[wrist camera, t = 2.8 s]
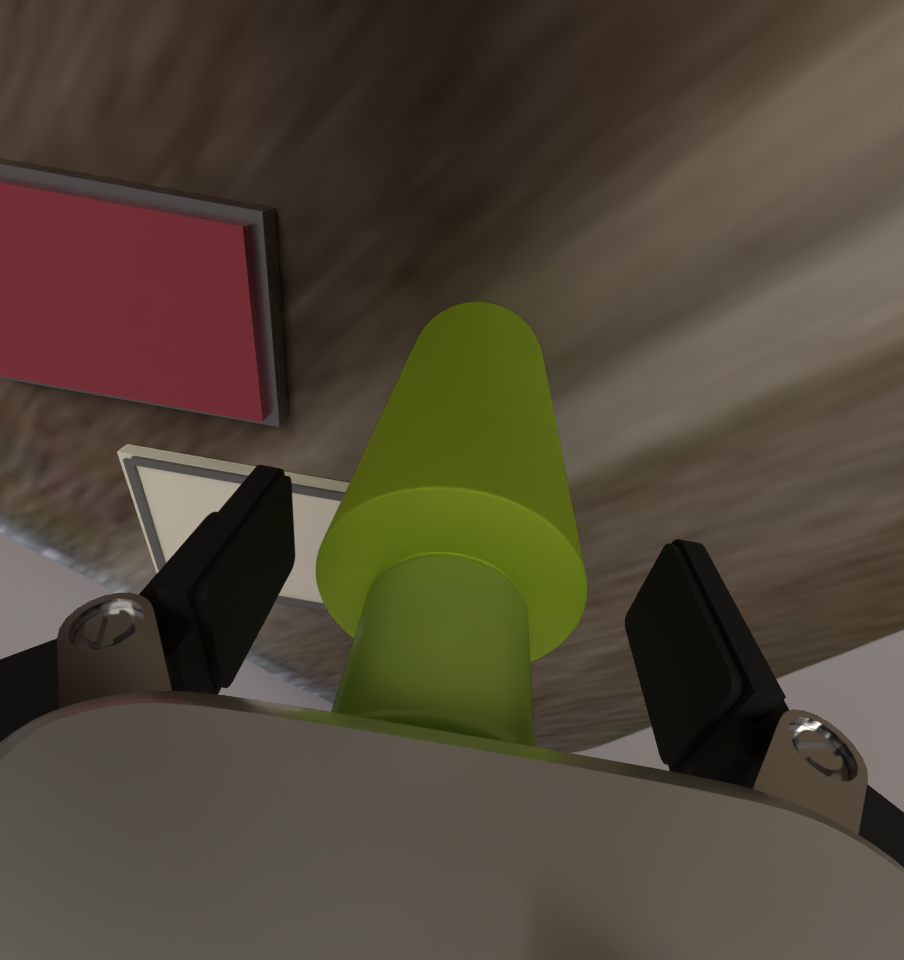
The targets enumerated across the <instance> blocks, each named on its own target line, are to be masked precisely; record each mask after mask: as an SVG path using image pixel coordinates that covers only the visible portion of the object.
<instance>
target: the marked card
mask: <svg viewBox="0 0 904 960" xmlns="http://www.w3.org/2000/svg"><path fill="white" fill-rule="evenodd" d="M117 453H118V456H119V459H120V462H121V466H122V469H123V472H124V475H125V478H126V481H127V484H128V487H129V490H130V493H131V496H132V499H133V502H134V505H135V508H136V511H137V515H138V518H139V521H140V524H141V527H142V530H143V533H144V536H145V539H146V542H147V545H148V548H149V551H150V554H151V557H152V560H153V564H154V567H155V570H156V573H158V572H159V571H160V570H161V568H162V567H163V566H164V565H165V564H166V563H167V562H168V560H169V559H170V558H171V557H172V556H173V555H174V553H175V552H176V551H177V550H178V549H179V548H180V546H181V545H182V544H183V543H184V542H185V541H186V540H187V538H188V537H189V536H190V535H191V534H192V533H193V531H194V530H195V529H196V528H197V527H198V526H199V524H200V523H201V522H202V521H203V520H204V519H205V518H206V517H207V516H208V515H209V514H210V513H212V512H218V511H219V510H220V509H221V508H222V506H223V505H224V504H225V503H226V502H227V500H228V499H229V498H230V497H231V496H232V495H233V493H234V492H235V491H236V490H237V489H238V487H239V486H240V485H241V484H242V483H243V481H244V480H245V479H246V478H247V477H248V476H249V474H250V473H251V472H252V471H253V470H254V468H255V467H256V466H251V465H245V464H239V463H234V462H228V461H222V460H216V459H211V458H205V457H199V456H193V455H188V454H182V453H176V452H171V451H165V450H159V449H153V448H148V447H142V446H136V445H131V444H126V445H125V446H124V447H122V448H121V449H120V450H119V451H117ZM284 473H285V475H286V476H290V478H291V482H292V500H293V519H294V537H295V562H294V566H293V569H292V571H291V573H290V575H289V576H288V578H287V580H286V582H285V584H284V586H283V588H282V590H281V592H280V593H279V595H278V597H277V599H276V601H275V603H280V604H286V605H292V606H298V607H304V608H310V609H316V610H321V611H327V612H328V610H327V608H326V607H325V605H324V603H323V601H322V598H321V596H320V593H319V590H318V587H317V582H316V559H317V555H318V551H319V548H320V545H321V543H322V541H323V539H324V536H325V534H326V532H327V530H328V528H329V526H330V524H331V521H332V519H333V517H334V515H335V513H336V511H337V509H338V507H339V504H340V502H341V500H342V498H343V496H344V494H345V492H346V490H347V487H348V485H349V483H348V482H342V481H336V480H331V479H325V478H319V477H314V476H308V475H302V474H296V473H291V472H285V471H284Z"/></svg>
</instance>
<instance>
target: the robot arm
mask: <svg viewBox="0 0 904 960" xmlns="http://www.w3.org/2000/svg"><path fill="white" fill-rule="evenodd" d="M294 562H295V537H294V519H293V500H292V482H291V478H290V476H286V475H285V473H284V470H283V469H280V468H274V467H269V466H263V465H258V466H256V467H255V468H254V470H253V471H252V472H251V473H250V474H249V476H248V477H247V478H246V479H245V480H244V481H243V483H242V484H241V485H240V486H239V487H238V489H237V490H236V491H235V492H234V493H233V495H232V496H231V497H230V498H229V499H228V500H227V502H226V503H225V504H224V505H223V506H222V508H221V509H220V510H219V511H218V512H212V513H210V514H209V515H208V516H207V517H206V518H205V519H204V520H203V521H202V522H201V523H200V524H199V526H198V527H197V528H196V529H195V530H194V531H193V533H192V534H191V535H190V536H189V537H188V538H187V540H186V541H185V542H184V543H183V544H182V545H181V546H180V548H179V549H178V550H177V551H176V552H175V553H174V555H173V556H172V557H171V558H170V559H169V560H168V562H167V563H166V564H165V565H164V566H163V567H162V568H161V570H160V571H159V572H158V573H157V574H156V575H155V577H154V578H153V579H152V580H151V581H150V582H149V583H148V585H147V586H146V587H145V588H144V589H143V590H142V592H141V593H140V594H139V595H138V594H134V593H115V594H110V595H105V596H102V597H99V598H96V599H94V600H91V601H89V602H87V603H86V604H84V605H82V606H81V607H79V608H77V609H76V610H75V611H74V612H73V613H72V614H70V615H69V616H68V617H67V618H66V619H65V621H64V622H63V624H62V625H61V627H60V628H59V632H58V636H57V639H55V640H52V641H49V642H46V643H44V644H41V645H38V646H35V647H33V648H30V649H27V650H25V651H22V652H19V653H17V654H14V655H11V656H9V657H6V658H3V659H0V960H904V812H902V811H901V810H900V809H899V808H897V807H896V806H895V805H893V804H892V803H891V802H889V801H888V800H887V799H886V798H884V797H883V796H882V795H880V794H879V793H878V792H877V791H875V790H874V789H873V788H871V787H870V786H869V785H868V784H867V783H868V774H867V768H866V765H865V763H864V761H863V758H862V756H861V755H860V753H859V752H858V751H857V749H856V748H855V746H854V745H853V744H852V743H851V741H850V740H849V739H847V737H846V736H845V735H844V734H843V733H842V732H841V731H839V730H838V729H837V728H836V727H834V726H833V725H832V724H831V723H829V722H828V721H826V720H824V719H822V718H821V717H819V716H817V715H815V714H812V713H809V712H806V711H803V710H790V711H789V709H788V707H787V705H786V703H785V701H784V699H785V698H786V697H785V695H784V693H783V691H782V689H781V688H780V686H779V684H778V682H777V680H776V678H775V676H774V675H773V673H772V671H771V669H770V667H769V665H768V663H767V662H766V660H765V658H764V656H763V654H762V652H761V650H760V649H759V647H758V645H757V643H756V641H755V639H754V638H753V636H752V634H751V632H750V630H749V628H748V626H747V625H746V623H745V621H744V619H743V617H742V615H741V614H740V612H739V610H738V608H737V606H736V604H735V602H734V601H733V599H732V597H731V595H730V593H729V591H728V590H727V588H726V586H725V584H724V582H723V580H722V578H721V577H720V575H719V573H718V571H717V569H716V567H715V566H714V564H713V562H712V560H711V558H710V556H709V554H708V553H707V551H706V549H705V547H704V546H703V545H702V544H700V543H696V542H691V541H685V540H679V539H677V540H674V541H673V542H672V543H671V544H666V545H665V546H664V547H663V549H662V551H661V553H660V555H659V556H658V558H657V560H656V562H655V564H654V565H653V567H652V569H651V571H650V573H649V574H648V576H647V578H646V580H645V582H644V583H643V585H642V587H641V589H640V591H639V593H638V594H637V596H636V598H635V600H634V602H633V603H632V605H631V607H630V609H629V611H628V612H627V615H626V618H625V629H626V633H627V636H628V640H629V644H630V647H631V651H632V655H633V658H634V662H635V666H636V670H637V673H638V677H639V681H640V684H641V688H642V692H643V695H644V699H645V703H646V707H647V710H648V714H649V718H650V721H651V725H652V728H653V732H654V736H655V740H656V744H657V747H658V751H659V755H660V757H661V760H662V761H663V763H664V764H667V765H668V766H669V770H670V771H665V770H661V769H655V768H650V767H645V766H639V765H633V764H627V763H622V762H617V761H611V760H605V759H600V758H594V757H589V756H583V755H577V754H572V753H566V752H561V751H555V750H549V749H544V748H538V747H532V746H527V745H521V744H515V743H509V742H504V741H498V740H492V739H486V738H481V737H475V736H469V735H463V734H458V733H452V732H446V731H440V730H434V729H429V728H423V727H417V726H411V725H405V724H399V723H393V722H387V721H382V720H376V719H370V718H364V717H358V716H352V715H346V714H340V713H334V712H327V711H322V710H316V709H310V708H304V707H297V706H292V705H285V704H278V703H272V702H264V701H258V700H251V699H245V698H238V697H232V696H225V695H218V693H219V691H220V689H221V687H223V688H228V687H229V686H230V685H231V683H232V682H233V680H234V678H235V676H236V674H237V672H238V671H239V669H240V667H241V665H242V663H243V661H244V659H245V657H246V656H247V654H248V652H249V650H250V648H251V646H252V644H253V642H254V640H255V639H256V637H257V635H258V633H259V631H260V629H261V627H262V625H263V624H264V622H265V620H266V618H267V616H268V614H269V612H270V610H271V608H272V607H273V605H274V603H275V601H276V599H277V597H278V595H279V593H280V592H281V590H282V588H283V586H284V584H285V582H286V580H287V578H288V576H289V575H290V573H291V571H292V569H293V566H294Z"/></svg>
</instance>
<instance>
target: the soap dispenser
mask: <svg viewBox="0 0 904 960" xmlns="http://www.w3.org/2000/svg"><path fill="white" fill-rule="evenodd" d="M316 582H317V587H318V590H319V593H320V596H321V598H322V601H323V603H324V605H325V607H326V608H327V610H328V612H329V613H330V615H331V616H332V617H333V619H334V620H335V621H336V622H337V623H338V624H339V626H340V627H341V628H342V629H343V630H344V631H346V632H347V633H348V634H349V635H350V636H351V637H352V638H354V640H353V643H352V646H351V650H350V653H349V656H348V659H347V662H346V666H345V669H344V672H343V675H342V679H341V682H340V685H339V688H338V692H337V695H336V698H335V701H334V705H333V708H332V711H331V712H334V713H340V714H346V715H352V716H358V717H364V718H370V719H376V720H382V721H387V722H393V723H399V724H405V725H411V726H417V727H423V728H429V729H434V730H440V731H446V732H452V733H458V734H463V735H469V736H475V737H481V738H486V739H492V740H498V741H504V742H509V743H515V744H521V745H527V746H532V747H535V734H534V715H533V697H532V679H531V662H532V661H534V660H536V659H538V658H540V657H542V656H544V655H546V654H547V653H549V652H551V651H552V650H553V649H555V648H556V647H557V646H559V645H560V644H561V643H562V642H563V641H564V640H565V639H566V638H567V637H568V636H569V635H570V634H571V633H572V631H573V630H574V629H575V627H576V626H577V624H578V623H579V621H580V619H581V617H582V614H583V612H584V609H585V605H586V601H587V589H588V588H587V577H586V572H585V567H584V562H583V557H582V552H581V547H580V542H579V537H578V532H577V526H576V521H575V516H574V511H573V506H572V501H571V496H570V491H569V486H568V481H567V476H566V471H565V466H564V461H563V456H562V451H561V446H560V441H559V436H558V430H557V425H556V420H555V415H554V410H553V405H552V400H551V395H550V390H549V385H548V380H547V375H546V370H545V365H544V360H543V355H542V350H541V347H540V344H539V341H538V339H537V337H536V335H535V334H534V332H533V330H532V329H531V328H530V326H529V325H528V324H527V323H526V322H525V321H524V320H523V319H522V318H521V317H520V316H518V315H517V314H515V313H514V312H512V311H511V310H509V309H507V308H505V307H502V306H499V305H496V304H492V303H487V302H467V303H462V304H458V305H455V306H452V307H450V308H448V309H446V310H444V311H442V312H440V313H439V314H438V315H436V316H435V317H434V318H433V319H431V320H430V321H429V322H428V324H427V325H426V326H425V327H424V328H423V330H422V331H421V333H420V335H419V336H418V338H417V340H416V343H415V345H414V347H413V349H412V351H411V353H410V355H409V357H408V360H407V362H406V364H405V366H404V368H403V370H402V372H401V374H400V377H399V379H398V381H397V383H396V385H395V387H394V389H393V392H392V394H391V396H390V398H389V400H388V402H387V404H386V406H385V409H384V411H383V413H382V415H381V417H380V419H379V421H378V423H377V426H376V428H375V430H374V432H373V434H372V436H371V438H370V441H369V443H368V445H367V447H366V449H365V451H364V453H363V455H362V458H361V460H360V462H359V464H358V466H357V468H356V470H355V472H354V475H353V477H352V479H351V481H350V483H349V485H348V487H347V490H346V492H345V494H344V496H343V498H342V500H341V502H340V504H339V507H338V509H337V511H336V513H335V515H334V517H333V519H332V521H331V524H330V526H329V528H328V530H327V532H326V534H325V536H324V539H323V541H322V543H321V545H320V548H319V551H318V555H317V559H316Z"/></svg>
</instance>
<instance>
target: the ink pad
mask: <svg viewBox="0 0 904 960" xmlns="http://www.w3.org/2000/svg"><path fill="white" fill-rule="evenodd" d="M0 378H2V379H8V380H14V381H19V382H25V383H31V384H36V385H42V386H48V387H53V388H59V389H65V390H70V391H76V392H82V393H87V394H93V395H99V396H104V397H110V398H116V399H121V400H127V401H133V402H139V403H144V404H150V405H156V406H161V407H167V408H173V409H178V410H184V411H190V412H195V413H201V414H207V415H212V416H218V417H224V418H229V419H235V420H241V421H247V422H252V423H258V424H264V425H269V426H275V427H280V426H281V425H282V424H283V422H284V421H285V420H286V419H287V417H288V416H289V408H288V393H287V378H286V362H285V347H284V331H283V316H282V300H281V285H280V269H279V254H278V238H277V223H276V208H270V207H265V206H259V205H254V204H248V203H243V202H237V201H232V200H226V199H221V198H215V197H210V196H204V195H199V194H193V193H188V192H182V191H177V190H171V189H166V188H160V187H155V186H149V185H144V184H138V183H133V182H127V181H122V180H116V179H111V178H105V177H100V176H94V175H89V174H83V173H78V172H72V171H67V170H61V169H56V168H50V167H45V166H39V165H34V164H28V163H23V162H17V161H12V160H6V159H1V158H0Z"/></svg>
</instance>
